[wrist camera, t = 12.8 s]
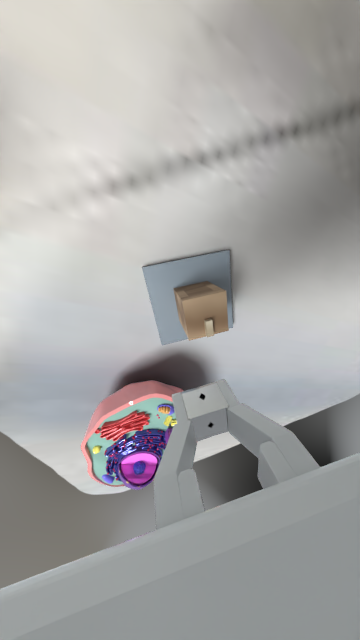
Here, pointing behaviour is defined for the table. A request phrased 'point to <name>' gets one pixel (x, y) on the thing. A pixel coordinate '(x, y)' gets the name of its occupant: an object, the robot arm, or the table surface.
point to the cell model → (130, 434)
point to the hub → (184, 274)
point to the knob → (202, 309)
